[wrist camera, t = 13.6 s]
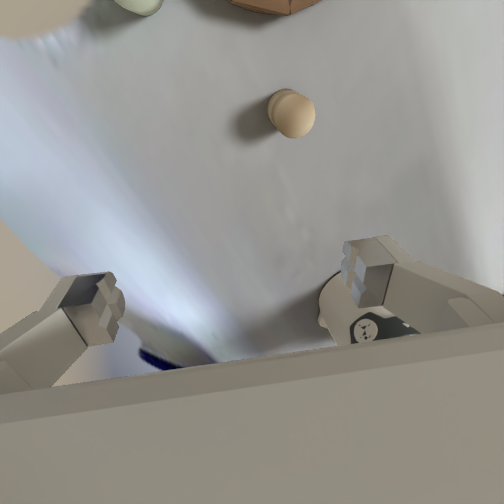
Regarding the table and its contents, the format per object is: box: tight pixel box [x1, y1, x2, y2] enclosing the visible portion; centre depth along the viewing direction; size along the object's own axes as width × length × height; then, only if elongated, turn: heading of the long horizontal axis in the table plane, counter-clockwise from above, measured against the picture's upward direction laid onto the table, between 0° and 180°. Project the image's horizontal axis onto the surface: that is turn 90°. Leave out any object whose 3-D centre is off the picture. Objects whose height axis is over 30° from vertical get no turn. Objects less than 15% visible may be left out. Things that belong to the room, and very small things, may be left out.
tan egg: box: [267, 89, 315, 138], centre depth 31 cm, size 4×4×5 cm
